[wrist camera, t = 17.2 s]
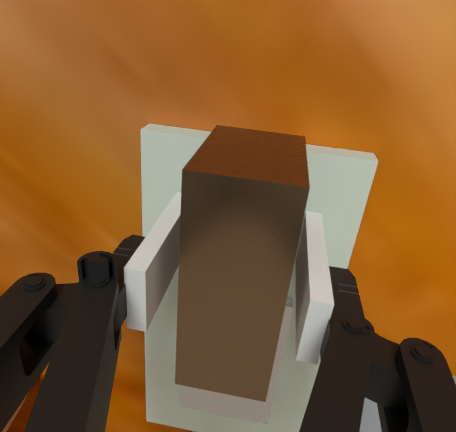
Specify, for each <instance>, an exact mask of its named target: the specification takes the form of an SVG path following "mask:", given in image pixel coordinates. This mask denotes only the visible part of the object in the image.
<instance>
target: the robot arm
mask: <svg viewBox="0 0 456 432" xmlns="http://www.w3.org/2000/svg"><path fill="white" fill-rule="evenodd" d="M180 215H181V192H177V194H176V195H175V196H174V198H173V199H172V201H171V202H170V203H169V205H168V206H167V208H166V209H165V210H164V212H163V213H162V215H161V216H160V218H159V219H158V220H157V222H156V223H155V225H154V226H153V227H152V229H151V230H150V232H149V233H148V234H147V236H146V237H144V236H137V235H131V236H129V237H128V238H126V239H124V240H123V241H122V242H121V243H120V245H119V246H118V248H116V250H115V251H114V252H113V254H112V253H109V252H104V251H96V252H91V253H87V254H85V255H83V256H82V257H80V258H79V260H78V261H77V266H78V274H79V283H72V284H56V282H55V278H54V277H53V276H52V275H50V274H47V273H33V274H29V275H26V276H24V277H22V278H20V279H19V280H17V281H16V282H15V283H14V284H13V285H12V286H11V287H10V288H9V289H8V290H7V291H6V292H5V293H4V294H3V295H2V296H1V297H0V432H2V431H3V429H4V428H5V426H6V425H7V424H8V422H9V421H10V419H11V418H12V416H13V415H14V413H15V412H16V410H17V409H18V407H19V406H20V404H21V403H22V401H23V400H24V398H25V397H26V396H27V394H28V393H29V391H30V390H31V388H32V387H33V385H34V384H35V382H36V381H37V379H38V378H39V376H40V375H41V373H42V372H43V371H44V369H45V368H46V366H47V365H48V363H49V365H48V368H47V371H46V373H45V376H44V379H43V382H42V384H41V387H40V390H39V392H38V395H37V398H36V401H35V403H34V406H33V409H32V412H31V414H30V417H29V420H28V423H27V425H26V428H25V431H24V432H105V427H106V421H107V415H108V410H109V404H110V398H111V392H112V387H113V381H114V375H115V369H116V364H117V358H118V352H119V346H120V340H121V325H122V323H123V322H124V320H125V318H126V324H127V328H128V329H134V330H139V331H144V332H147V330H148V327H149V325H150V323H151V321H152V319H153V317H154V315H155V313H156V311H157V309H158V307H159V305H160V303H161V301H162V299H163V297H164V295H165V293H166V291H167V288H168V286H169V284H170V282H171V280H172V278H173V276H174V274H175V272H176V270H177V268H178V266H179V245H180ZM319 356H320V359H321V363H320V366H319V369H318V372H317V375H316V379H315V382H314V385H313V388H312V392H311V395H310V398H309V401H308V404H307V408H306V411H305V414H304V417H303V420H302V424H301V427H300V430H299V432H359V431H360V425H361V418H362V412H363V406H364V399H365V398H367V399H369V400H371V401H373V402H375V403H377V407H378V413H379V419H380V425H381V430H382V432H456V384H455V381H454V379H453V376H452V374H451V371H450V369H449V366H448V364H447V361H446V359H445V357H444V356H443V354H442V353H441V351H440V350H438V349H437V348H436V347H435V346H434V345H432V344H430V343H428V342H427V341H424V340H421V339H418V338H407V339H404V340H403V341H402V342H401V343H400V345H399V344H397V343H394V342H392V341H389V340H387V339H385V338H383V337H381V336H379V335H378V334H376V333H375V331H374V327H373V326H372V324H371V323H370V322H369V321H368V320H367V319H365V317H364V313H363V309H362V305H361V300H360V296H359V292H358V288H357V284H356V279H355V277H354V276H353V274H352V273H351V272H350V271H349V270H348V269H345V268H338V267H332V266H329V263H328V256H327V249H326V242H325V235H324V227H323V220H322V213H315V212H308V211H305V216H304V220H303V225H302V230H301V235H300V240H299V244H298V249H297V254H296V360H297V361H302V362H308V363H313V364H317V363H318V360H319Z"/></svg>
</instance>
